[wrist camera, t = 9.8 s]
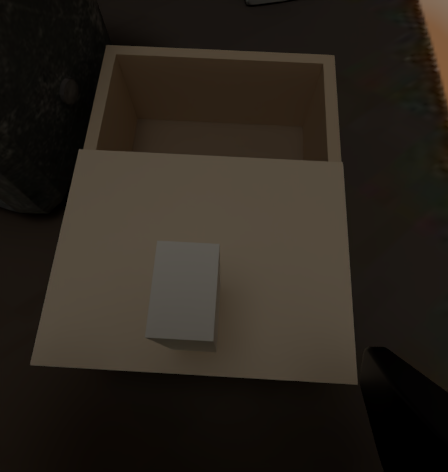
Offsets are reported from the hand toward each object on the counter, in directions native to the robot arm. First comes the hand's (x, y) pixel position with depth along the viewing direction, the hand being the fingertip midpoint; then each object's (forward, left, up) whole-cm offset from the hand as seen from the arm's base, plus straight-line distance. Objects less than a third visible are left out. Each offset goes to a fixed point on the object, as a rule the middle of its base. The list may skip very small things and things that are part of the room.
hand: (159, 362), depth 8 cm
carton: (+9, -7, -12) cm, 16 cm away
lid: (+3, -3, -6) cm, 7 cm away
